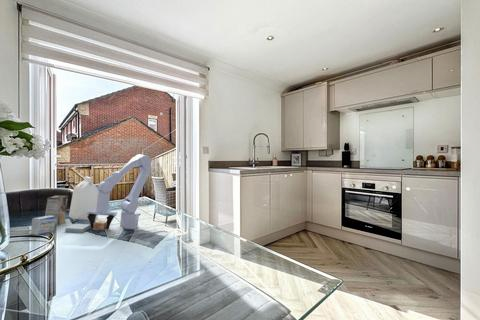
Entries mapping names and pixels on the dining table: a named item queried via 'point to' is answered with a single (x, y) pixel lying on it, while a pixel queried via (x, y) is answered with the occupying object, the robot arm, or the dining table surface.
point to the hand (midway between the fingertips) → (100, 228)
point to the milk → (83, 199)
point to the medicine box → (42, 225)
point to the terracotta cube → (100, 225)
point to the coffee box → (57, 208)
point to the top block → (78, 228)
